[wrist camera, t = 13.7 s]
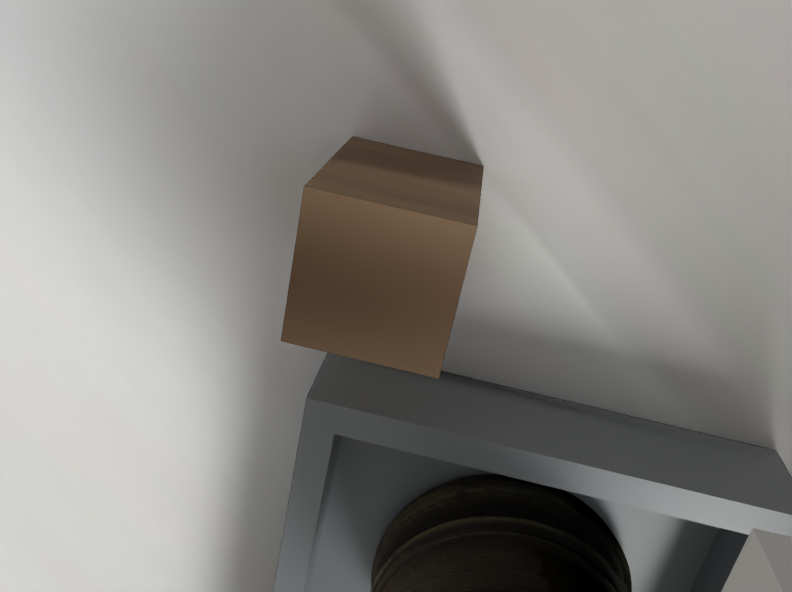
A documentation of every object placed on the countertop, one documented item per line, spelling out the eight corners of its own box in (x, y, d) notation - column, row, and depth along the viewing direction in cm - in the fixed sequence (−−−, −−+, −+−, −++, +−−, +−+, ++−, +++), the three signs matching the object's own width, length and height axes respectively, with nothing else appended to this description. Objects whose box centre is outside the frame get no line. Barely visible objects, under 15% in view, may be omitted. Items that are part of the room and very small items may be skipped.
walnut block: (352, 136, 22) (304, 186, 17) (483, 166, 22) (477, 226, 17) (331, 259, 24) (280, 340, 19) (453, 287, 24) (438, 378, 18)
